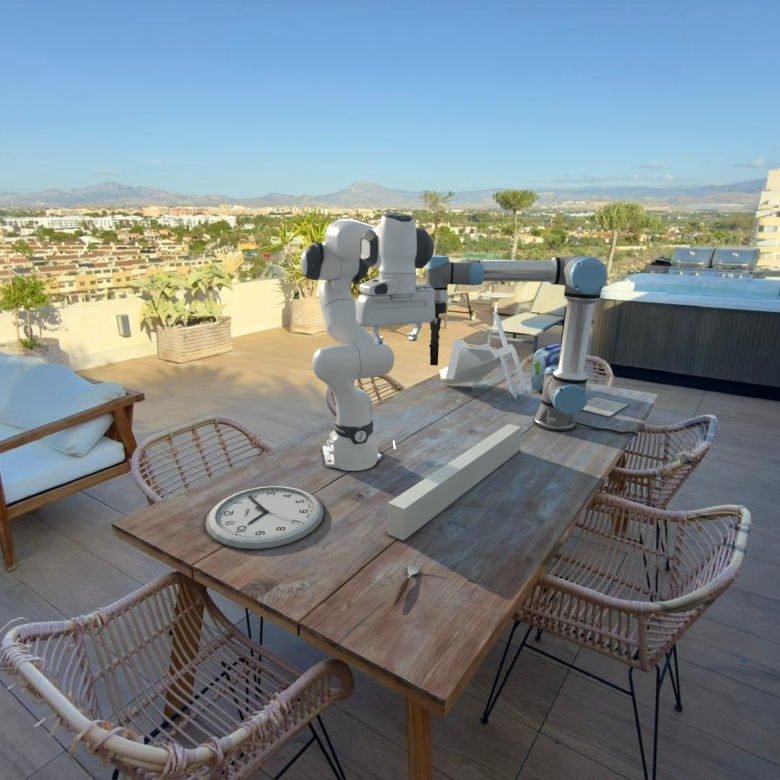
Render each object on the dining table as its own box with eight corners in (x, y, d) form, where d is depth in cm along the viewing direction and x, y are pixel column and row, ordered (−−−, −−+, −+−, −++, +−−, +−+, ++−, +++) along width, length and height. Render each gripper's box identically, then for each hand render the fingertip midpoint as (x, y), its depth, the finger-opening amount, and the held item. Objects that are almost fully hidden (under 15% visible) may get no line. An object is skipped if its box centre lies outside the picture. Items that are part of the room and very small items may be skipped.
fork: (388, 605, 105) (388, 597, 104) (412, 560, 119) (412, 553, 119) (400, 609, 104) (400, 600, 104) (423, 563, 119) (423, 555, 118)
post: (506, 447, 183) (508, 423, 180) (519, 450, 180) (521, 426, 178) (387, 534, 130) (388, 502, 127) (403, 540, 127) (404, 509, 125)
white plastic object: (461, 429, 252) (437, 405, 227) (444, 352, 274) (420, 323, 250) (535, 404, 240) (518, 377, 215) (510, 326, 262) (492, 293, 237)
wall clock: (321, 540, 123) (190, 545, 121) (321, 546, 124) (191, 551, 121) (325, 481, 152) (219, 484, 149) (325, 486, 152) (220, 489, 150)
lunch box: (547, 396, 238) (552, 351, 232) (526, 391, 246) (531, 347, 239) (574, 385, 256) (579, 343, 250) (554, 380, 263) (559, 340, 257)
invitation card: (608, 416, 214) (573, 407, 224) (608, 416, 214) (573, 408, 224) (628, 404, 229) (594, 396, 238) (628, 405, 229) (594, 397, 238)
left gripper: (427, 282, 131) (425, 336, 135) (353, 285, 122) (353, 343, 126) (441, 284, 126) (439, 341, 130) (364, 288, 117) (364, 348, 121)
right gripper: (425, 296, 195) (423, 352, 201) (425, 306, 171) (423, 368, 177) (445, 297, 194) (443, 352, 200) (448, 306, 170) (445, 369, 177)
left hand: (396, 342), depth 128 cm, fingers open, 8 cm apart
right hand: (433, 360), depth 189 cm, fingers open, 13 cm apart
